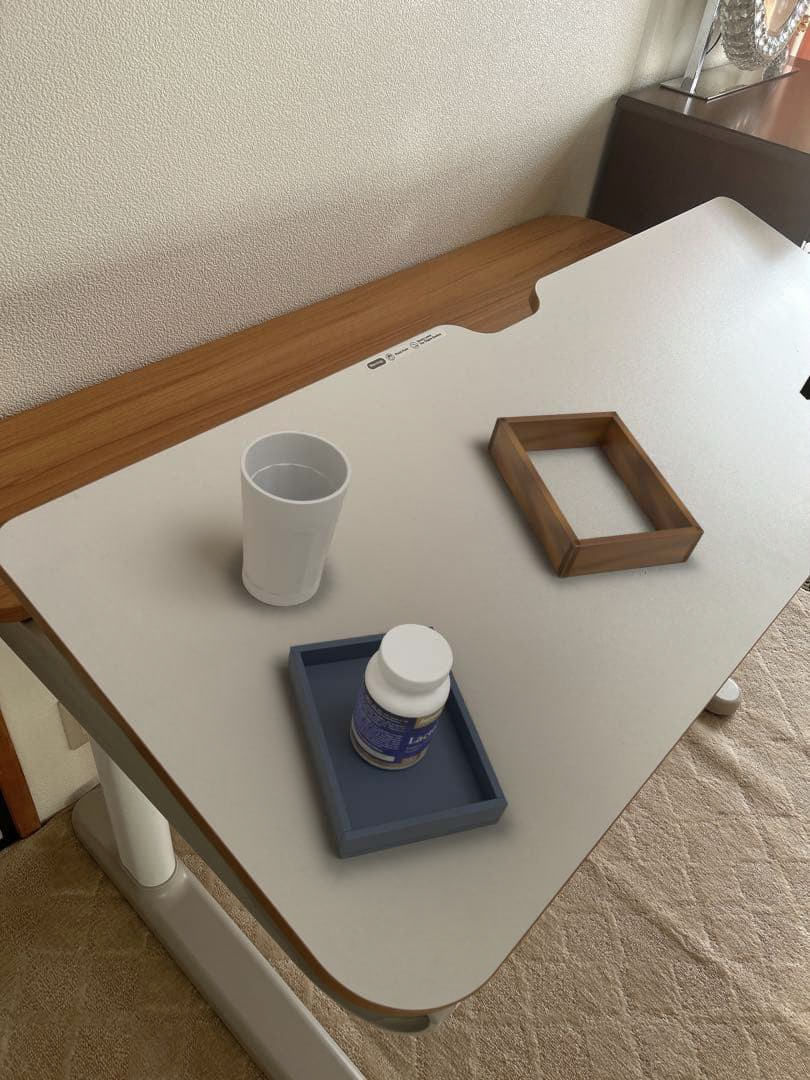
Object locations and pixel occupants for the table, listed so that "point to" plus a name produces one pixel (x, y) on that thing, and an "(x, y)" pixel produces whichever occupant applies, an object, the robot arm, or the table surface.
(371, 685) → the pill bottle
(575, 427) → the wooden frame
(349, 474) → the cup
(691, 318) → the table surface
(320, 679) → the tray
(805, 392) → the robot arm
